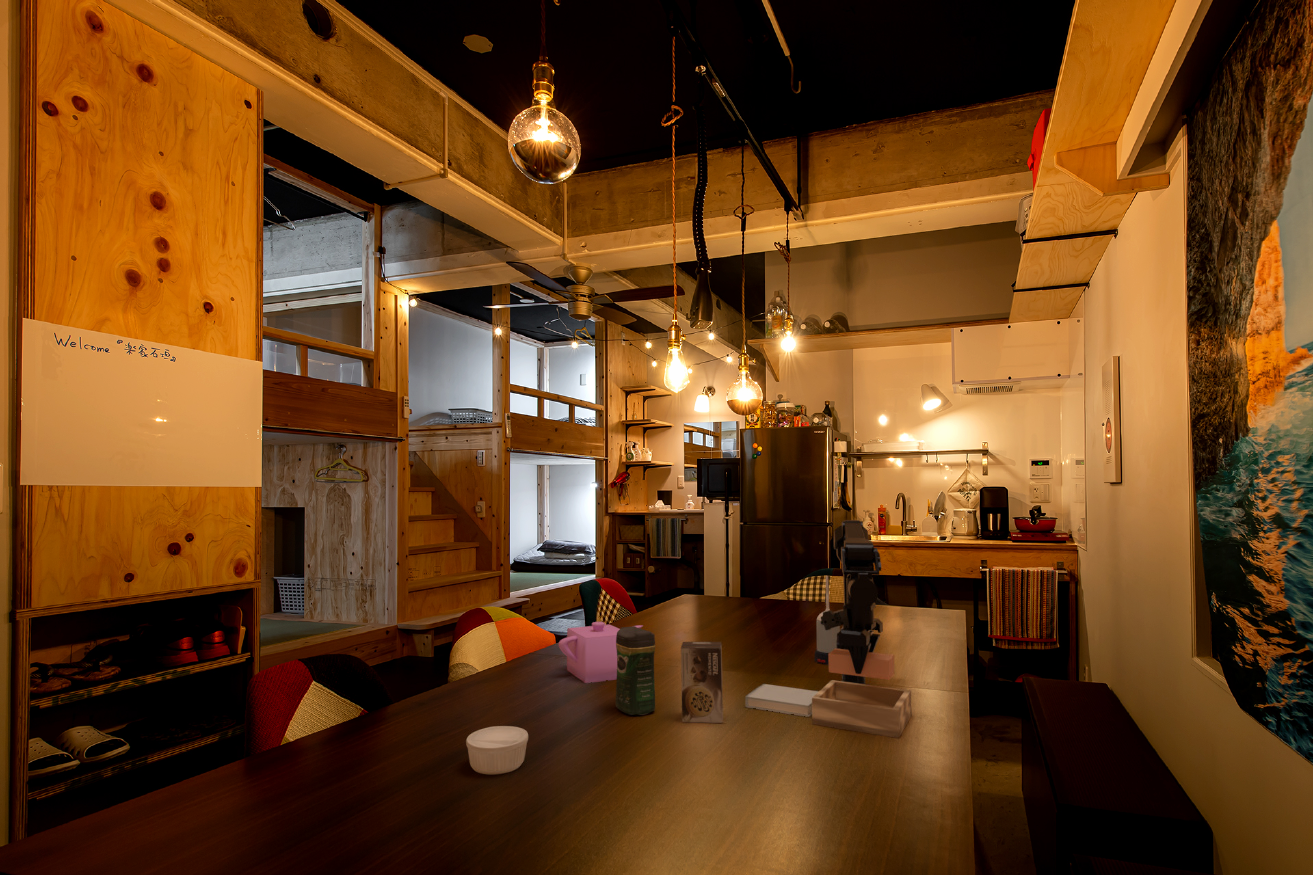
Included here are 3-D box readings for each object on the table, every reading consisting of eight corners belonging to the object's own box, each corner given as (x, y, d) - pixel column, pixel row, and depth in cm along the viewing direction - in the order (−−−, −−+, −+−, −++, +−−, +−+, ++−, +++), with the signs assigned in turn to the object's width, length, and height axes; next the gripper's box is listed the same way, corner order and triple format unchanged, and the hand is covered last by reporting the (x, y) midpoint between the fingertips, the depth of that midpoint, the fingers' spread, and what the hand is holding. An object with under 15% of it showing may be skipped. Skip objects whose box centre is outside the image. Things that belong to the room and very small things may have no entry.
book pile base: (763, 694, 172) (763, 683, 172) (823, 702, 165) (823, 692, 165) (745, 707, 162) (745, 696, 162) (808, 717, 155) (808, 705, 155)
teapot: (654, 674, 191) (654, 622, 192) (567, 685, 180) (568, 630, 181) (632, 662, 205) (632, 614, 206) (550, 672, 194) (550, 621, 195)
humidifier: (815, 664, 202) (813, 577, 204) (813, 657, 210) (812, 574, 212) (844, 665, 201) (842, 578, 203) (841, 658, 209) (839, 574, 211)
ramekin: (473, 782, 120) (473, 750, 121) (459, 760, 130) (460, 731, 131) (535, 770, 125) (536, 740, 126) (518, 750, 135) (518, 722, 136)
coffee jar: (660, 712, 158) (660, 629, 159) (630, 718, 154) (630, 633, 155) (640, 701, 166) (640, 622, 167) (610, 706, 162) (611, 625, 164)
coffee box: (722, 714, 157) (722, 641, 158) (722, 723, 150) (722, 647, 152) (682, 713, 158) (682, 640, 159) (680, 722, 151) (680, 646, 152)
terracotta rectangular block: (835, 666, 159) (835, 648, 160) (894, 673, 153) (894, 654, 154) (828, 672, 154) (828, 653, 155) (889, 679, 148) (889, 660, 148)
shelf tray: (832, 703, 164) (831, 680, 165) (911, 715, 156) (911, 690, 156) (812, 724, 150) (811, 697, 150) (898, 738, 141) (898, 710, 142)
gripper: (834, 591, 167) (835, 657, 166) (812, 601, 151) (813, 675, 149) (882, 594, 162) (884, 662, 160) (865, 606, 145) (866, 682, 144)
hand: (861, 670), depth 154 cm, fingers closed on terracotta rectangular block, 6 cm apart
